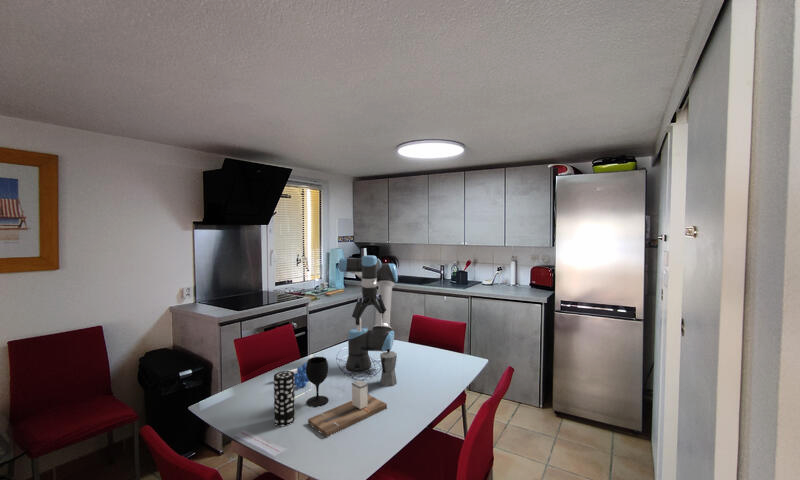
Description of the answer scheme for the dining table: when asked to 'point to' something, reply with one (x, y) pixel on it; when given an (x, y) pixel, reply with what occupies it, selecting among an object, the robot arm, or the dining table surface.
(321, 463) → the dining table surface
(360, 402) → the fader
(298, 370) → the grapes
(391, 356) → the coffeepot
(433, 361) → the dining table surface
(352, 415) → the brown flat wooden board
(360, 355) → the robot arm
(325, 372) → the wine glass
